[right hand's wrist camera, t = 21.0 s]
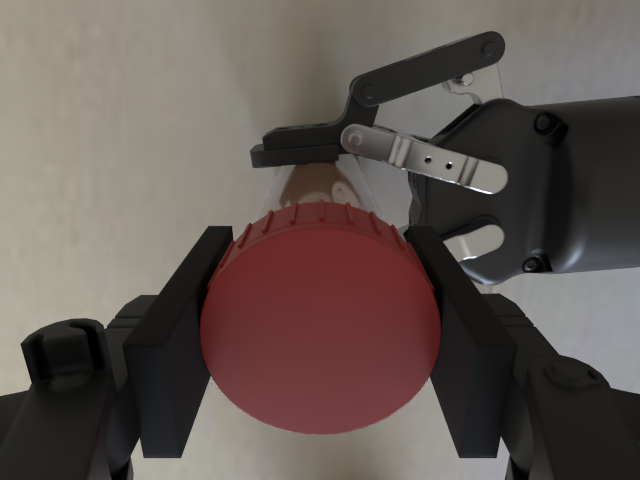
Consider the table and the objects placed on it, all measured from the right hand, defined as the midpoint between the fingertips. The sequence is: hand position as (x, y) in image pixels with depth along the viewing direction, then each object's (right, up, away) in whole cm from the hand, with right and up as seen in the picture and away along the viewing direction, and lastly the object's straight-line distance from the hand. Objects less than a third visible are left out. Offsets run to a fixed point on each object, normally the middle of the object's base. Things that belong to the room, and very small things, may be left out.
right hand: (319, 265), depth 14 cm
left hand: (-3, +2, +6) cm, 7 cm away
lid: (0, -1, -4) cm, 4 cm away
